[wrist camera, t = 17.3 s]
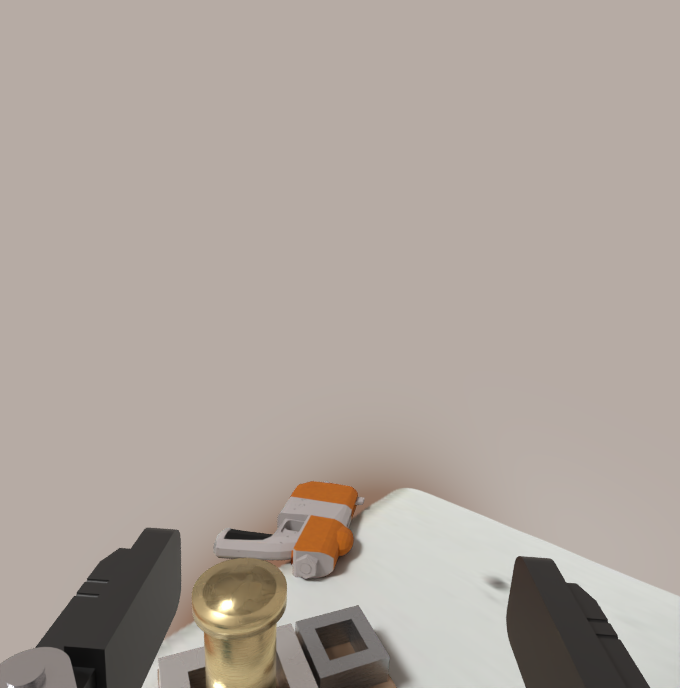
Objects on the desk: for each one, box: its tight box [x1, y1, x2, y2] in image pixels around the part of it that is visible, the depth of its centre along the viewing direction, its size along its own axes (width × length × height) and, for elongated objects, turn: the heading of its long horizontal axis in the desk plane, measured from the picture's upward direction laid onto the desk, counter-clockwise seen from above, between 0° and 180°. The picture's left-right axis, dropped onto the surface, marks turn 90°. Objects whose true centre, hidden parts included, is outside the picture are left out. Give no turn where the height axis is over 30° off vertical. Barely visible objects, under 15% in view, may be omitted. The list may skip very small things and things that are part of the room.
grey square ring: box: [295, 605, 390, 688], centre depth 44 cm, size 6×6×2 cm
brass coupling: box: [192, 558, 287, 688], centre depth 37 cm, size 6×6×12 cm
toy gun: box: [214, 481, 364, 579], centre depth 65 cm, size 3×19×15 cm
